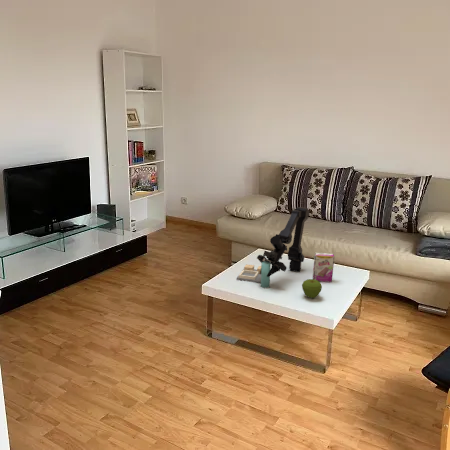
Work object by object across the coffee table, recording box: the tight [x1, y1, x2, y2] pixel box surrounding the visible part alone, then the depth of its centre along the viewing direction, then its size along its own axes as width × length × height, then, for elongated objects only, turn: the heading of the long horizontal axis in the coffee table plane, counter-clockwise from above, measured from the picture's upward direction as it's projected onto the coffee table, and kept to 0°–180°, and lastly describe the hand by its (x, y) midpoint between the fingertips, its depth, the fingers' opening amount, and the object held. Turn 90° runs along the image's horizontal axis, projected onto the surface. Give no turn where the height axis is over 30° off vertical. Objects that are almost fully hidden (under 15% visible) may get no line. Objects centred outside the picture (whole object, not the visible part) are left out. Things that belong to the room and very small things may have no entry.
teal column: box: [260, 262, 272, 289], centre depth 275 cm, size 5×5×14 cm
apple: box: [301, 278, 323, 299], centre depth 262 cm, size 11×10×10 cm
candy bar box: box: [312, 252, 335, 283], centre depth 284 cm, size 11×5×16 cm, turn 84°
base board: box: [236, 264, 261, 284], centre depth 290 cm, size 16×17×4 cm
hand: (263, 275), depth 274 cm, fingers closed on teal column, 5 cm apart
